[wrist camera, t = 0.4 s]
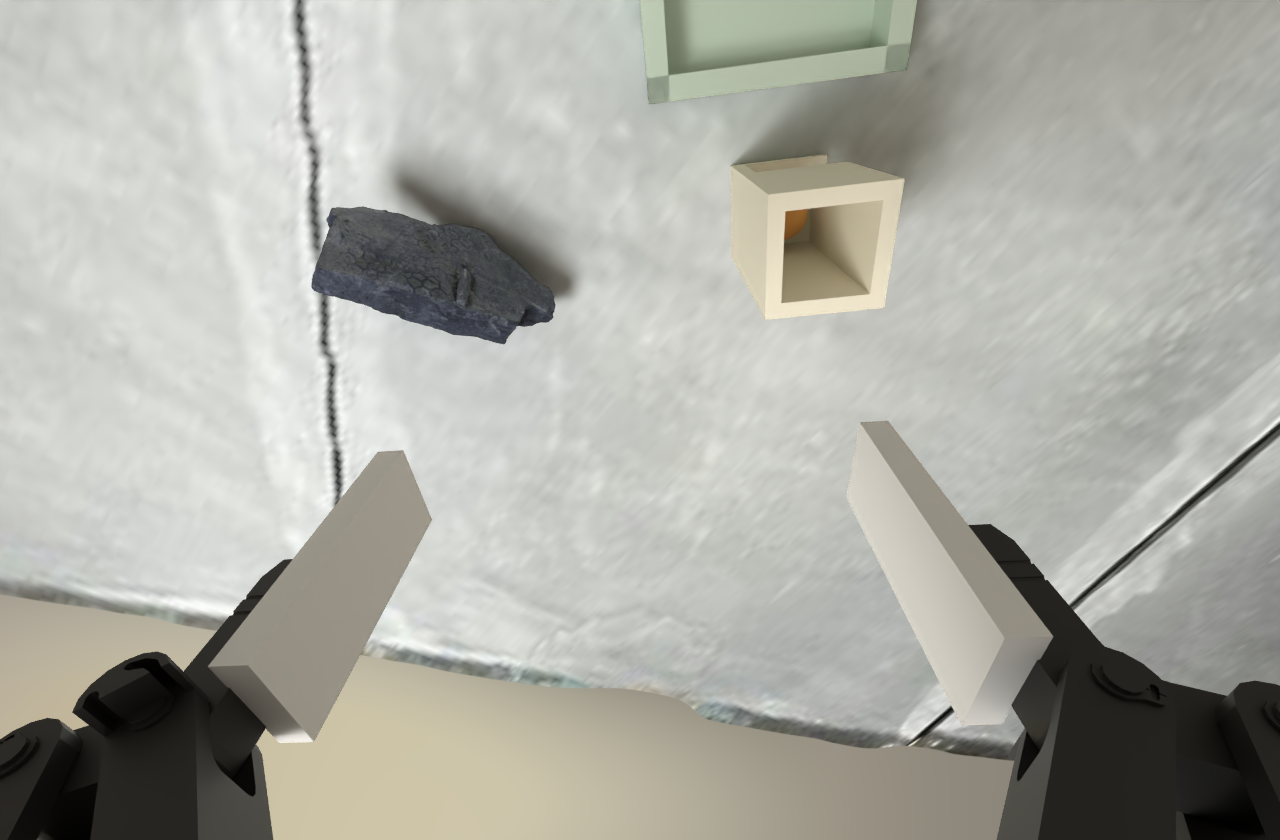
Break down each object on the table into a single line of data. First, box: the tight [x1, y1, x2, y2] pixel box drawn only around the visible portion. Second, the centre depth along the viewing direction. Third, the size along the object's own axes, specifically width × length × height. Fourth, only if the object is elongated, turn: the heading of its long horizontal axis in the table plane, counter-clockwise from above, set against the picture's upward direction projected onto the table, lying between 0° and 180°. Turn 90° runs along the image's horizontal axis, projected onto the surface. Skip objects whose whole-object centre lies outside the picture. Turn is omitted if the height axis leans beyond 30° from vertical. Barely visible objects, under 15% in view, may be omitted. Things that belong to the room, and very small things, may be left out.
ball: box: [784, 209, 808, 240], centre depth 32 cm, size 3×3×3 cm
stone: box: [312, 207, 555, 344], centre depth 32 cm, size 14×6×10 cm, turn 77°
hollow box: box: [731, 154, 905, 320], centre depth 29 cm, size 6×6×12 cm
